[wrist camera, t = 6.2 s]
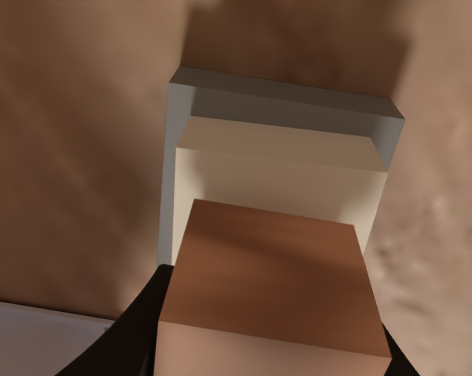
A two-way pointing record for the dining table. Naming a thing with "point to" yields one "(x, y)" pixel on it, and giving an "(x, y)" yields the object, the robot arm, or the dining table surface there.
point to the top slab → (277, 173)
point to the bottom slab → (265, 119)
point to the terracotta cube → (268, 299)
